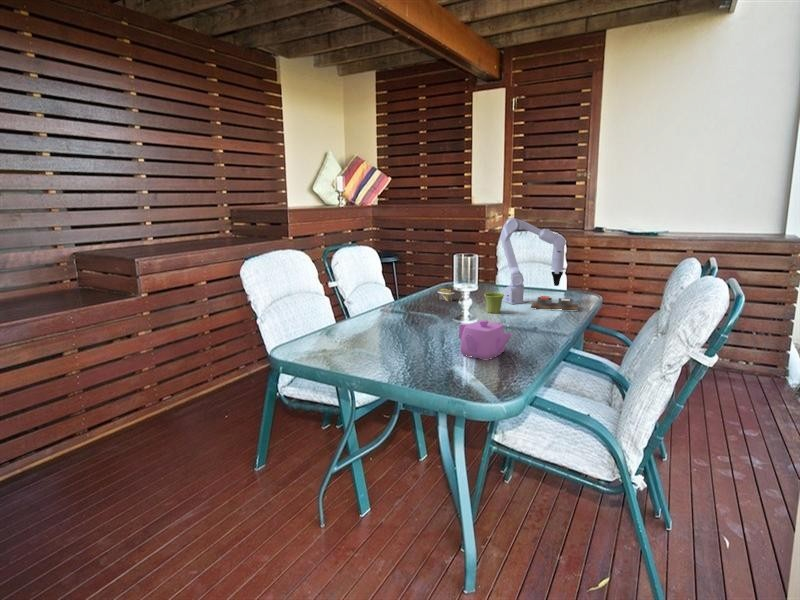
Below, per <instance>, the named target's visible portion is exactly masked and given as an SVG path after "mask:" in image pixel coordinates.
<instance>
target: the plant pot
mask: <svg viewBox="0 0 800 600" xmlns="http://www.w3.org/2000/svg"><path fill="white" fill-rule="evenodd" d="M504 296H505V293H500V292H487V293H486V292H485V293H484V298H485V301H486V312H487V313H490V314H500V312H501V308H502V303H503V299H504Z"/></svg>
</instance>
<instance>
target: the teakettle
mask: <svg viewBox="0 0 800 600" xmlns="http://www.w3.org/2000/svg"><path fill="white" fill-rule="evenodd" d="M512 337H513V334H512V333H510V332H506V333H505V330H504V325H503V324H501V323H500V322H498V321H497V322H496V321H492V322H489V320H487V319H479V321H475V322H472V323H466V322H465V323H463V322H462V323H460V324H459V330H458V339H460V347H459V348H460V354H461V355H462V354H463V355H467V356H472V357H475V358H481V359H490V358H493V357H495V356H498V355H499V354H501V353H502V352H504V353H505V350H506V345H507V343H508V342H509V340H510V339H511V338H512ZM463 355H462V356H463ZM501 355H502V354H501ZM467 356H466V357H467ZM498 357H499V356H498ZM475 358H474V359H475ZM493 359H494V358H493Z"/></svg>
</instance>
